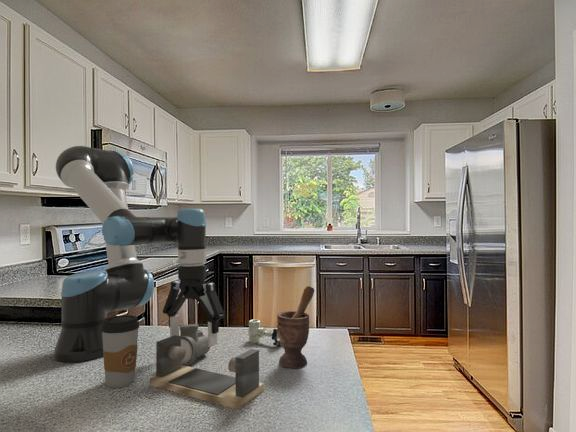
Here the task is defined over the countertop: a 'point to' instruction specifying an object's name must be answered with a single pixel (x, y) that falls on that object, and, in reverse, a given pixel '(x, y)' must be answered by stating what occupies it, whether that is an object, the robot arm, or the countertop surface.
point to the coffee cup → (120, 349)
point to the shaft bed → (207, 376)
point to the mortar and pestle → (294, 332)
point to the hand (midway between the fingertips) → (193, 342)
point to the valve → (261, 333)
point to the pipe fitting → (193, 343)
